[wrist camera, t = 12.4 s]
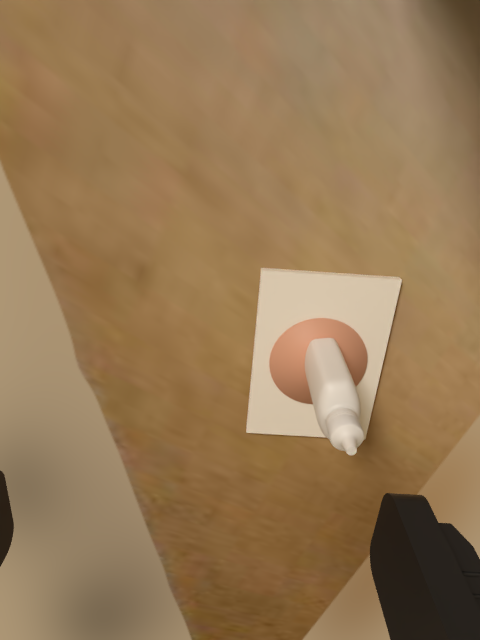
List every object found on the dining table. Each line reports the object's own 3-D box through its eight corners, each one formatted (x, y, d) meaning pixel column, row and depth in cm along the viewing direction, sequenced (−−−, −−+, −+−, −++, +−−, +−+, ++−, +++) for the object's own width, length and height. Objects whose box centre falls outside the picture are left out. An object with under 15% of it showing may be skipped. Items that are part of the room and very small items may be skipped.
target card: (261, 267, 39) (261, 271, 38) (399, 277, 39) (402, 280, 38) (246, 428, 46) (246, 433, 45) (363, 435, 46) (365, 441, 45)
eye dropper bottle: (358, 346, 41) (401, 431, 30) (329, 394, 43) (359, 489, 32) (315, 329, 40) (343, 409, 29) (288, 378, 42) (304, 470, 31)
